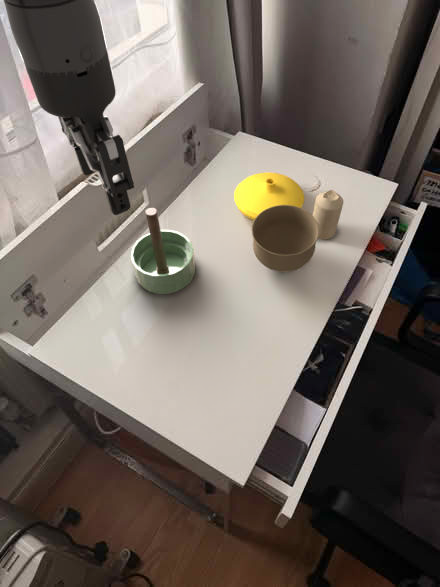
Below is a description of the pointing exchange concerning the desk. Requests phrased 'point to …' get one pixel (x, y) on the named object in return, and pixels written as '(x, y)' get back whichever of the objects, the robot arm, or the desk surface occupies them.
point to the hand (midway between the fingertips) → (106, 190)
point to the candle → (327, 213)
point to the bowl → (284, 237)
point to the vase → (267, 193)
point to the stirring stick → (157, 241)
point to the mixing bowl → (176, 257)
